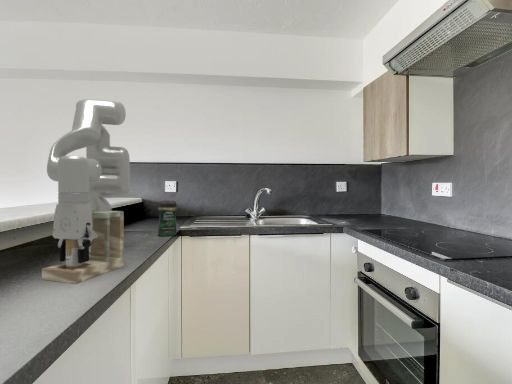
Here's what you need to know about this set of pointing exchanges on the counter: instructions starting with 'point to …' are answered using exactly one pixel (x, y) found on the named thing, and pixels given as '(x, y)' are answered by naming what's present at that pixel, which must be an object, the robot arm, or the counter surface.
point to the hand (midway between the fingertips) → (74, 260)
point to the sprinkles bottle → (72, 255)
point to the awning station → (96, 250)
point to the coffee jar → (167, 218)
